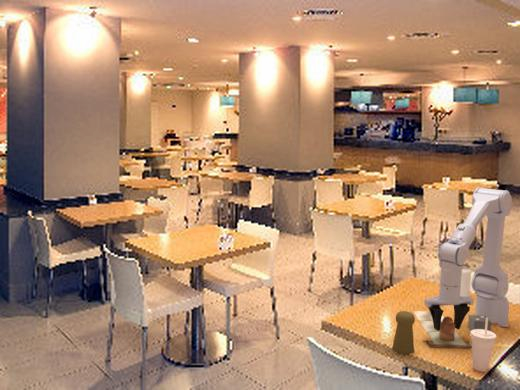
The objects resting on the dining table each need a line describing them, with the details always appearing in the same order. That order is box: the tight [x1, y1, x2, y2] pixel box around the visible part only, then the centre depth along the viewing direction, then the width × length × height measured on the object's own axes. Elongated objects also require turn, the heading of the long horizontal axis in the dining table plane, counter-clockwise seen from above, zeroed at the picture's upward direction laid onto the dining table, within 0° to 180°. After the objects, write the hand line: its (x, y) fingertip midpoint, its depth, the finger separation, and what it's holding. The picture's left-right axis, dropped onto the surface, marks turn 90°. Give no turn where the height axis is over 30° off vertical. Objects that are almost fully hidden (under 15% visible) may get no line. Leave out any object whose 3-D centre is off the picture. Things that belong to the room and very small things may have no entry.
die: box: [467, 314, 492, 332], centre depth 168 cm, size 5×5×5 cm
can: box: [460, 263, 472, 297], centre depth 201 cm, size 6×6×12 cm
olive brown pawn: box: [392, 310, 416, 355], centre depth 155 cm, size 6×6×11 cm
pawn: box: [439, 316, 456, 341], centre depth 162 cm, size 4×4×6 cm
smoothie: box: [469, 318, 497, 373], centre depth 144 cm, size 6×6×14 cm
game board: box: [413, 310, 472, 350], centre depth 171 cm, size 12×27×1 cm, turn 178°
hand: (446, 328), depth 162 cm, fingers open, 6 cm apart
